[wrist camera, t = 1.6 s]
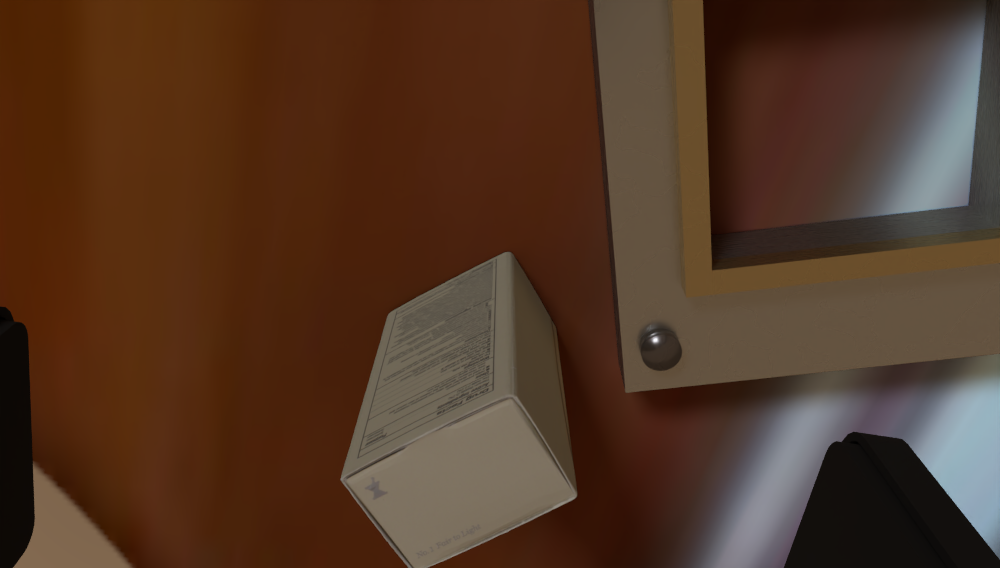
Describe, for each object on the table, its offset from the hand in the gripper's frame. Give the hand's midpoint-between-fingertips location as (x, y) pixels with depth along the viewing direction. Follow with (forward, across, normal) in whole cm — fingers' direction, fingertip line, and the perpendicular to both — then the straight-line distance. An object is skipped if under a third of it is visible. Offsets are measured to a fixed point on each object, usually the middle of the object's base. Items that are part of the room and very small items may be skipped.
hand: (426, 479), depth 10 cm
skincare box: (+26, -2, +10) cm, 28 cm away
